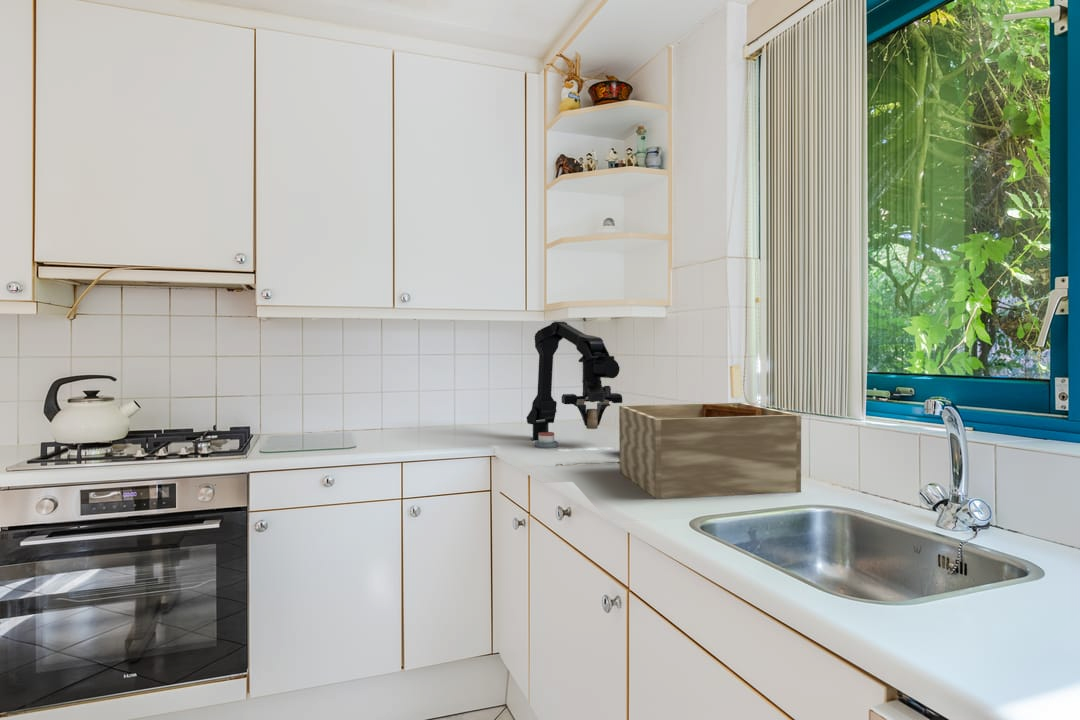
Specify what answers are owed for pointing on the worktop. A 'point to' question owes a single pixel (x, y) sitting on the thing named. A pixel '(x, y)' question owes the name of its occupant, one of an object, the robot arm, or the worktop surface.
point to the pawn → (592, 418)
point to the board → (555, 444)
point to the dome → (546, 437)
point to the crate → (709, 451)
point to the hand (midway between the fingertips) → (591, 425)
